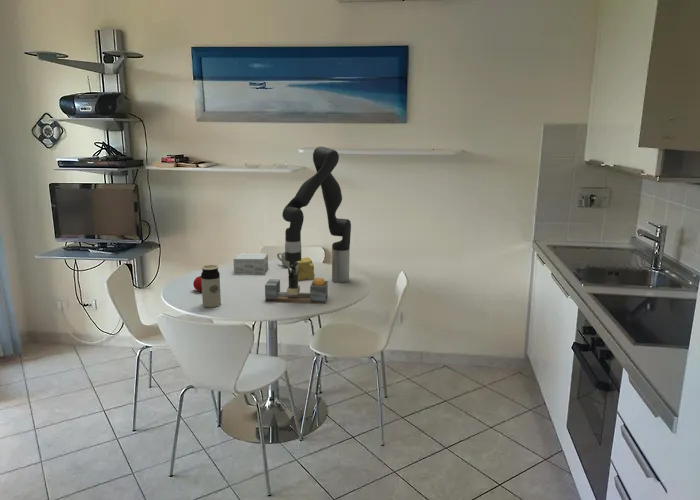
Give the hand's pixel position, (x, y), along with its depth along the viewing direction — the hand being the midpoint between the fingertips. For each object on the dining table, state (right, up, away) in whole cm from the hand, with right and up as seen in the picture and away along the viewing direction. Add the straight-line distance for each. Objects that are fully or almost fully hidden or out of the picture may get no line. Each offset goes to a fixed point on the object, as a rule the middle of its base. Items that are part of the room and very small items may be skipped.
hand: (293, 285), depth 243 cm
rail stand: (+1, -7, +1) cm, 7 cm away
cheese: (+1, +1, +37) cm, 37 cm away
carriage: (0, -3, +1) cm, 3 cm away
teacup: (-9, +7, +59) cm, 61 cm away
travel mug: (-36, -8, -8) cm, 38 cm away
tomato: (-46, -4, +12) cm, 48 cm away
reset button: (+12, -1, 0) cm, 12 cm away
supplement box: (-29, +4, +47) cm, 55 cm away
